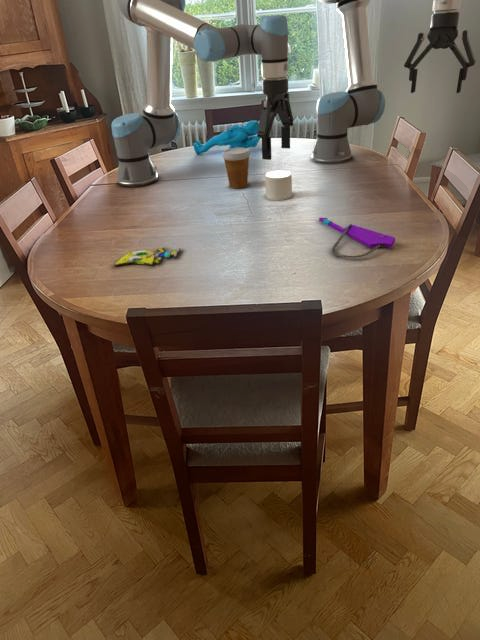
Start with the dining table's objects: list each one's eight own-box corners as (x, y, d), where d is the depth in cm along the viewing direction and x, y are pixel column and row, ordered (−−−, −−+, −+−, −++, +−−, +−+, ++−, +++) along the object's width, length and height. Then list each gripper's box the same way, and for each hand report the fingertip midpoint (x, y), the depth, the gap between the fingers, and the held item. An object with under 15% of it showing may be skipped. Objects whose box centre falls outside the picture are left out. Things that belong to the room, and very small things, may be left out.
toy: (198, 134, 217) (260, 114, 207) (206, 157, 223) (267, 139, 212) (187, 143, 204) (253, 123, 194) (196, 168, 209) (261, 149, 199)
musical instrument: (379, 268, 112) (405, 226, 124) (378, 260, 110) (405, 219, 123) (287, 256, 124) (320, 220, 137) (286, 249, 123) (319, 213, 135)
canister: (286, 201, 153) (285, 178, 149) (262, 199, 156) (260, 177, 152) (295, 192, 159) (295, 171, 155) (272, 190, 162) (271, 169, 159)
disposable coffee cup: (220, 189, 168) (217, 154, 161) (231, 180, 175) (228, 146, 168) (246, 190, 164) (243, 154, 158) (255, 181, 171) (253, 147, 165)
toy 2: (171, 262, 119) (113, 263, 121) (171, 266, 119) (114, 266, 121) (180, 245, 127) (126, 246, 129) (180, 248, 128) (127, 249, 130)
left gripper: (267, 85, 128) (269, 165, 140) (304, 72, 146) (303, 144, 158) (242, 85, 131) (247, 163, 143) (281, 72, 149) (282, 142, 161)
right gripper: (398, 15, 142) (391, 94, 153) (491, 9, 130) (476, 94, 142) (405, 14, 147) (398, 90, 159) (495, 7, 135) (480, 90, 147)
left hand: (276, 153), depth 150 cm, fingers open, 13 cm apart
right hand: (435, 92), depth 150 cm, fingers open, 13 cm apart
